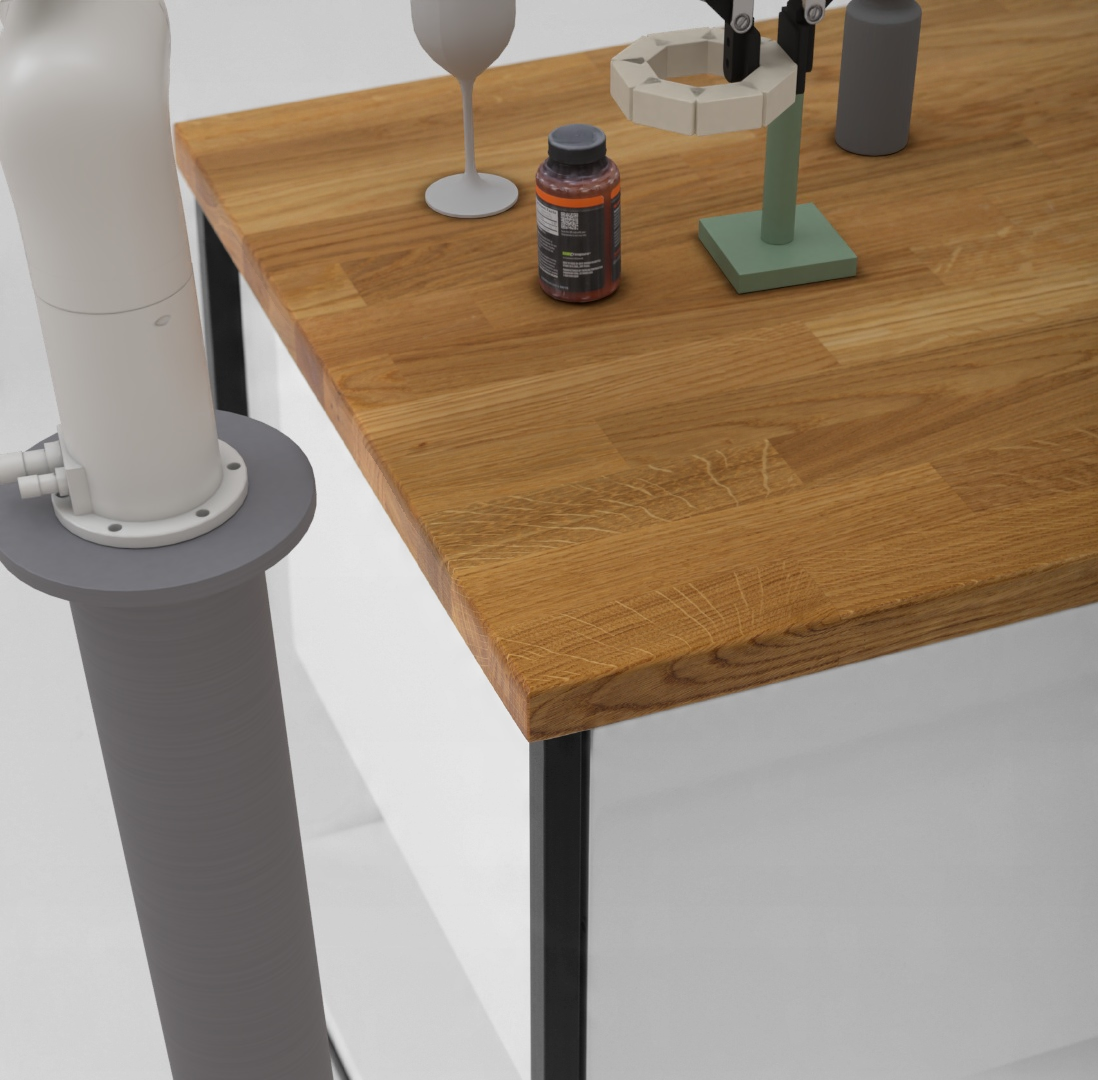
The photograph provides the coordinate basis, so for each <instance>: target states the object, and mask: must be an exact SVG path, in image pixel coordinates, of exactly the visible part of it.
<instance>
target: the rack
mask: <svg viewBox="0 0 1098 1080" xmlns="http://www.w3.org/2000/svg"><path fill="white" fill-rule="evenodd" d="M804 100H805V93H804V94H798V95H796V96H795V102H794V103H793V104H792V105H791V106H790V107H788V108H787V109H786V110H785V111H784V112H783V113H781V114H780V115H779V116H778V117H777V118H776V119H774V120H773V121H772V122H771V123H770V124H769V125H768V126H766V136H765V137H766V138H765V139H766V140H765V154H764V155H765V157H764V172H763V187H762V188H763V190H762V206H761V209H757V210H751V211H745V212H738V213H731V214H724V215H717V216H710V217H703V218H699V219H698V234H697V235H698V236H697V238H698V239H699V241H700V242H701V243H702V244H703V246H704V248H705V249H706V250H707V252H708V253H709V254H710V256H711V257H712V258H713V260H714V261H715V263H716V264H717V266H718V267H719V269H720V270H721V271H722V273H723V274H724V276H725V277H726V279H727V280H728V281H729V283H730V284H731V285H732V287H733V289H734V290H735V291H736V293H737V294H746V293H752V292H759V291H765V290H771V289H779V288H786V287H791V286H797V285H804V284H811V283H817V282H823V281H831V280H837V279H843V278H850V277H856V276H857V267H858V256H857V254H856V253H855V252H854V251H853V249H851V247H850V246H849V245H848V243H847V242H846V241H845V240H844V239H843V237H842V236H841V235H840V233H838V231H837V230H836V228H835V227H834V226H833V225H832V224H831V223H830V222H829V220H828V219H827V217H825V215H824V214H823V213H822V212H821V210H820V209H819V208H818V207H817V205H815V204H814V202H807V203H799V204H797V197H798V184H799V182H798V181H799V169H800V156H801V155H800V153H801V140H802V128H803V113H804Z"/></svg>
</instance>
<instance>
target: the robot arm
mask: <svg viewBox="0 0 1098 1080" xmlns="http://www.w3.org/2000/svg"><path fill="white" fill-rule="evenodd" d="M699 1H700V2H704V3H706V4H707V5H708V6H709V7H710V8H711V9H712V11H714V12H715V13H716V14H717V15H718V16H719V17H720V18H721V19H722V20H723V21H724V27H723V29H724V51H723V72H724V76H725V77H724V79H725V80H726V81H727V83H736V82H741V81H743V80H744V79H745V78H746V77H747V76H749V75H750V74H751V73H752V72H754V71H755V70H756V69H757V68H758V67H759V65H760V46H761V37H762V35H761V32H760V31H759V30H758V28H757V27H756V26H755V17H754V8H755V0H699ZM832 2H834V0H787V2H786V6H781V9H780V10H781V11H779V12H778V18H777V34H776V35H777V38H776V41H777V43H778V44H779V46H780V47H781V48H782V49H783V50H784V51H785V52H786V54H787V55H788V56H789V57H790V58H791V59H792V60H793V62H794V63H796V65H797V80H796V95H798V94H804V95H805V90H806V79H807V78H806V77H807V73H811V72H812V71H813V66H814V51H815V40H816V39H815V37H816V25H817V24H819V23H820V22H821V21H822V20H823V19H824V17H825V15H826V9H827V7H829V5H830V4H831V3H832ZM0 22H1V24H2V26H3V27H2V29H1V31H0V165H1V168H2V171H3V174H4V177H5V181H6V184H7V187H8V191H9V193H10V197H11V200H12V204H13V207H14V211H15V216H16V219H17V223H18V227H19V231H20V236H21V240H22V244H23V250H24V253H25V259H26V264H27V268H28V272H29V273H28V274H29V278H30V282H31V287H32V290H33V295H34V299H35V303H36V308H37V313H38V318H39V324H40V328H41V334H42V338H43V342H44V348H45V352H46V358H47V363H48V368H49V372H50V377H51V382H52V386H53V391H54V397H55V401H56V407H57V410H58V411H57V412H58V416H59V420H60V421H59V422H60V423H59V424H57V425H56V431H57V432H58V436H59V440H58V441H55V442H49V443H44V447H45V449H39V450H33V451H27V452H25V451H22V450H20V451H14V452H6V453H2V454H0V485H6V484H12V483H18V484H19V489H20V494H21V498H22V499H27V498H34V497H40V496H42V495H46V494H51V499H52V503H53V507H54V511H55V515H56V516H57V518H58V519H59V521H60V522H61V524H62V525H63V526H64V527H65V528H67V529H68V530H69V531H70V532H71V533H73V534H75V535H77V536H79V537H81V538H83V539H85V540H88V541H91V542H94V543H97V544H100V545H105V546H111V547H116V548H132V549H140V548H155V547H161V546H167V545H173V544H177V543H180V542H184V541H187V540H191V539H194V538H196V537H198V536H201V535H203V534H206V533H208V532H210V531H211V530H213V529H215V528H217V527H218V526H220V525H222V524H223V523H224V522H225V521H227V520H228V519H229V518H230V517H232V516H233V515H234V514H235V513H236V511H237V510H238V509H239V508H240V507H241V505H242V504H243V502H244V500H245V498H246V496H247V493H248V485H249V482H248V475H247V468H246V465H245V463H244V460H243V458H242V457H241V456H240V454H239V453H238V452H237V451H236V450H235V449H234V448H232V447H231V446H230V445H228V444H227V443H226V442H224V441H222V440H219V439H218V436H217V429H216V422H215V415H214V402H213V396H212V389H211V382H210V373H209V369H208V362H207V354H206V348H205V347H206V346H205V341H204V335H203V327H202V319H201V314H200V305H199V300H198V293H197V287H196V286H197V285H196V280H195V273H194V266H193V262H192V255H191V249H190V248H191V247H190V241H189V235H188V234H189V233H188V228H187V227H188V226H187V221H186V215H185V209H184V203H183V199H182V193H181V187H180V181H179V176H178V171H177V164H176V159H175V153H174V144H173V137H172V129H171V127H172V126H171V115H170V113H171V112H170V96H169V95H170V82H171V81H170V80H171V69H170V68H171V67H170V66H171V53H172V47H171V43H172V39H171V38H172V35H171V24H170V17H169V13H168V9H167V6H166V3H165V0H0Z"/></svg>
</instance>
